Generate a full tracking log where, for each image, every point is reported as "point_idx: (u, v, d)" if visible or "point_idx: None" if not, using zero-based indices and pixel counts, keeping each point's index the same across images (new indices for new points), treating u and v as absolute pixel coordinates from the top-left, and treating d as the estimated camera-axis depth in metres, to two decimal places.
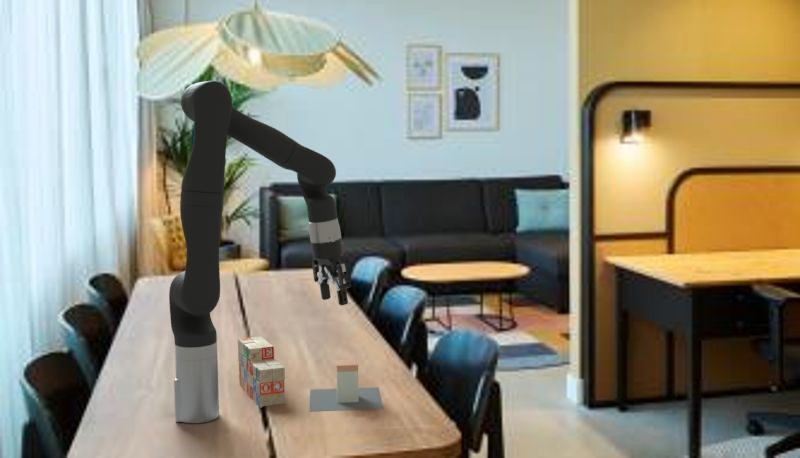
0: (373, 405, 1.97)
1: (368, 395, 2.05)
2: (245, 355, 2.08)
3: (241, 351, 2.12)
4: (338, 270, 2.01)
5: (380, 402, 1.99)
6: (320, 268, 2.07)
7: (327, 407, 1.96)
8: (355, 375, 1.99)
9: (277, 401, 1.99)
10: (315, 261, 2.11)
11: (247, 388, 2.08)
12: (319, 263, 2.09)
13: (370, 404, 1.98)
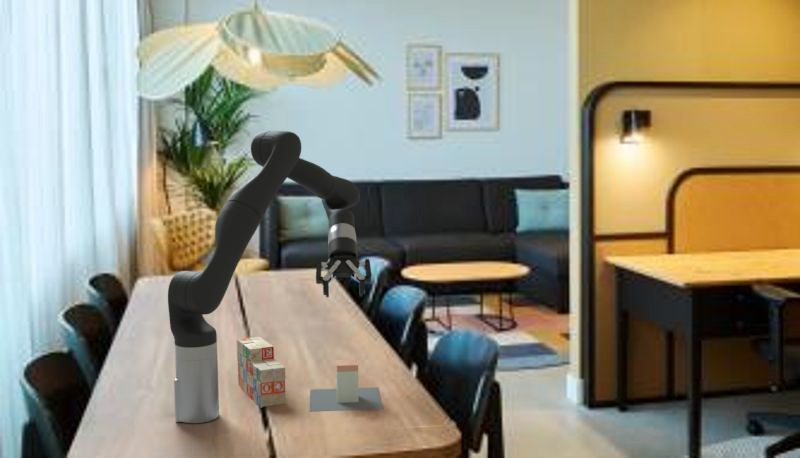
0: (373, 405, 1.97)
1: (368, 395, 2.05)
2: (245, 355, 2.08)
3: (240, 351, 2.12)
4: (368, 262, 2.19)
5: (380, 402, 1.99)
6: (338, 262, 2.17)
7: (327, 407, 1.96)
8: (355, 375, 1.99)
9: (278, 401, 1.99)
10: (321, 262, 2.19)
11: (247, 388, 2.08)
12: (331, 262, 2.18)
13: (370, 404, 1.98)
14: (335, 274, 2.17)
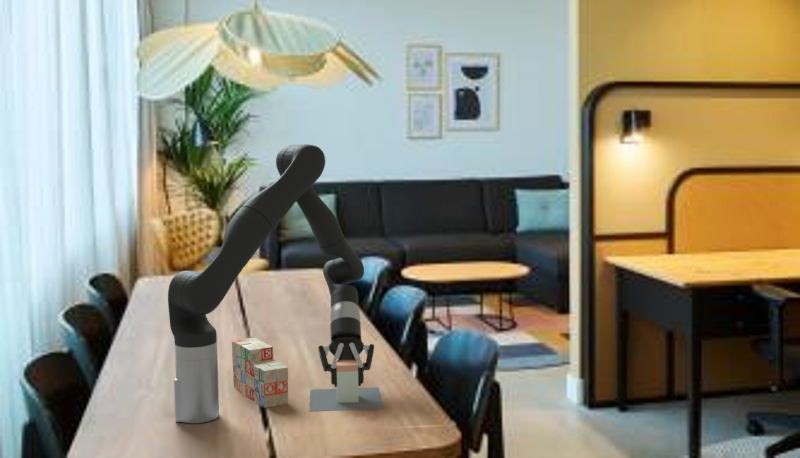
0: (373, 405, 1.97)
1: (368, 395, 2.05)
2: (243, 356, 2.07)
3: (237, 353, 2.10)
4: (372, 348, 2.05)
5: (380, 402, 1.99)
6: (341, 345, 2.04)
7: (327, 407, 1.96)
8: (355, 375, 1.99)
9: (281, 401, 1.99)
10: None
11: (245, 390, 2.07)
12: (333, 344, 2.05)
13: (370, 404, 1.98)
14: (341, 358, 2.04)
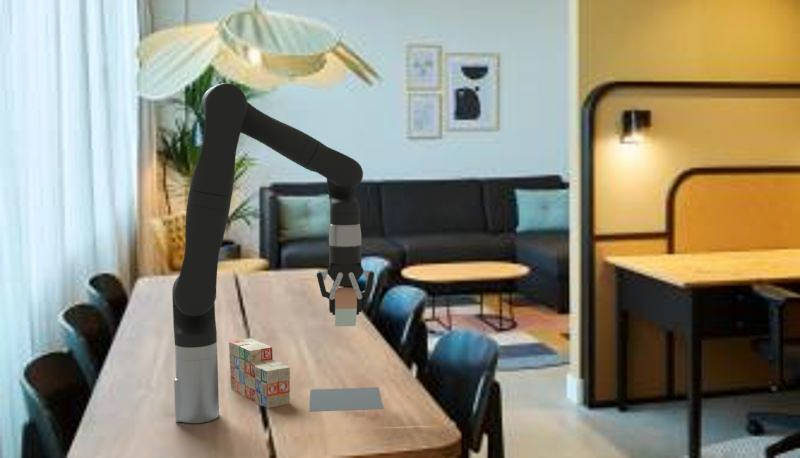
0: (373, 405, 1.97)
1: (368, 395, 2.05)
2: (242, 357, 2.06)
3: (235, 354, 2.09)
4: (372, 277, 1.99)
5: (380, 402, 1.99)
6: (340, 275, 1.97)
7: (327, 407, 1.96)
8: (353, 311, 1.98)
9: (283, 402, 1.98)
10: (321, 274, 1.98)
11: (245, 390, 2.06)
12: (332, 271, 1.98)
13: (370, 404, 1.98)
14: None
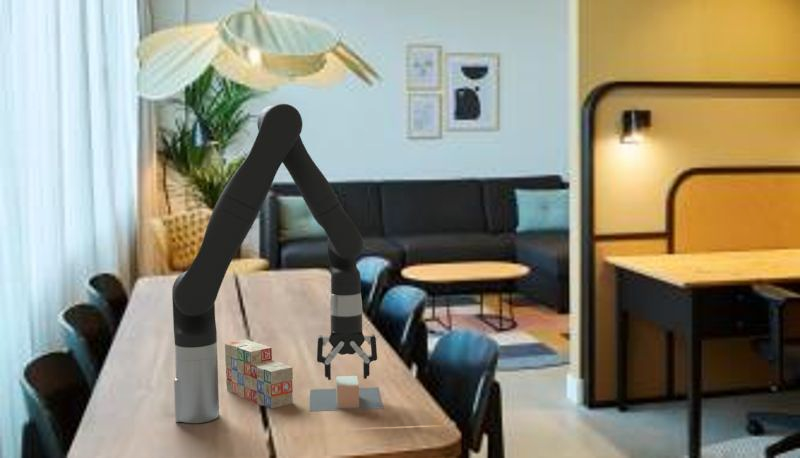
0: (373, 405, 1.97)
1: (368, 395, 2.05)
2: (240, 359, 2.05)
3: (232, 355, 2.08)
4: (374, 341, 2.00)
5: (380, 402, 1.99)
6: (341, 344, 1.99)
7: (327, 407, 1.96)
8: None
9: (286, 402, 1.98)
10: (322, 339, 1.99)
11: (244, 392, 2.05)
12: (333, 340, 1.99)
13: (370, 404, 1.98)
14: None
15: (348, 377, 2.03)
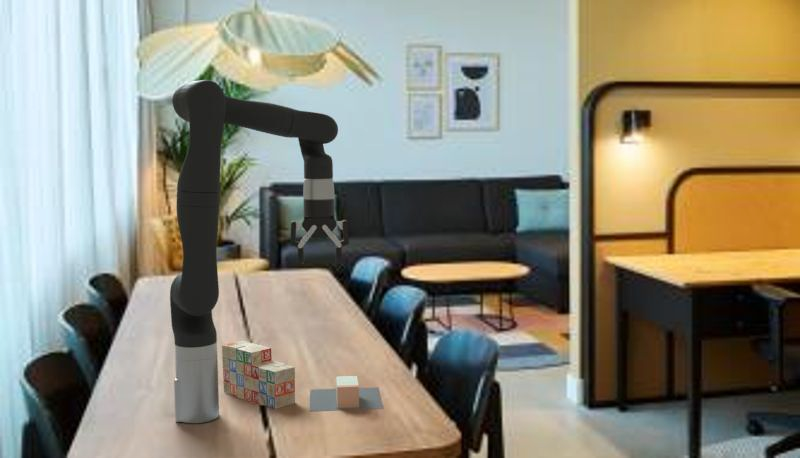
0: (373, 405, 1.97)
1: (368, 395, 2.05)
2: (240, 360, 2.04)
3: (230, 356, 2.07)
4: (346, 226, 2.06)
5: (380, 402, 1.99)
6: (314, 228, 2.05)
7: (327, 407, 1.96)
8: None
9: (289, 401, 1.98)
10: (296, 223, 2.06)
11: (244, 393, 2.04)
12: (306, 224, 2.06)
13: (370, 404, 1.98)
14: (311, 237, 2.07)
15: (348, 377, 2.03)
